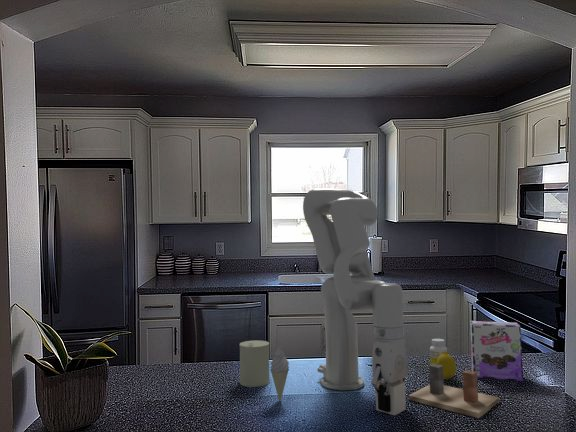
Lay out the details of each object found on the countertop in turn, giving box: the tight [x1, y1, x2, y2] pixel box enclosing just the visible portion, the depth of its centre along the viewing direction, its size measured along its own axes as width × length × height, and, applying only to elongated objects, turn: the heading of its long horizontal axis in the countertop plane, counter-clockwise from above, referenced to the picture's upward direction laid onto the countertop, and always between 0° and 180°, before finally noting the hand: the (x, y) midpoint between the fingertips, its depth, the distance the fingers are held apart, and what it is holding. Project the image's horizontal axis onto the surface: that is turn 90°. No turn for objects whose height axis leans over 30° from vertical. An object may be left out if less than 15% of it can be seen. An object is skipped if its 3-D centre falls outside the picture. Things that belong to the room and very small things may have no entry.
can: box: [238, 339, 271, 388], centre depth 131 cm, size 9×9×12 cm
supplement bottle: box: [429, 338, 449, 365], centre depth 140 cm, size 5×5×10 cm
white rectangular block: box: [375, 379, 407, 416], centre depth 107 cm, size 5×5×7 cm
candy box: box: [469, 320, 524, 382], centre depth 132 cm, size 14×6×16 cm, turn 71°
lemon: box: [437, 352, 457, 381], centre depth 130 cm, size 6×6×8 cm
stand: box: [408, 364, 500, 419], centre depth 112 cm, size 18×14×8 cm
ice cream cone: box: [269, 343, 290, 401], centre depth 115 cm, size 5×5×15 cm
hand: (390, 406), depth 107 cm, fingers closed on white rectangular block, 5 cm apart
